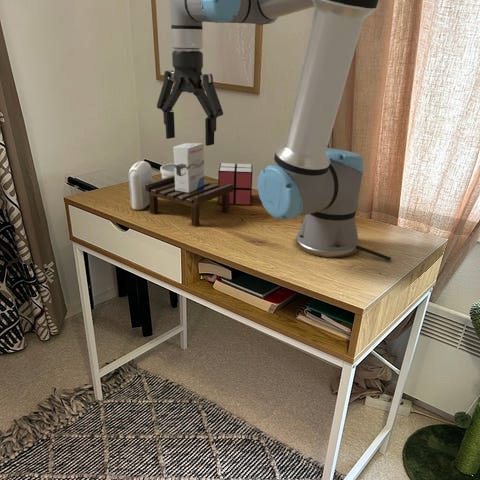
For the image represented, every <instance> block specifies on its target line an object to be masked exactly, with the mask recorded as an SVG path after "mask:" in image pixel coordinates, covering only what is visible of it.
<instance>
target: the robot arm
mask: <svg viewBox="0 0 480 480" xmlns="http://www.w3.org/2000/svg"><path fill="white" fill-rule="evenodd" d="M378 3H379V0H169V11H170V13H169V14H170V27H171V29H170V33H171V34H170V36H171V38H170V39H171V48H172V49H173V51H172V52H171V61H172V63H171V64H172V67H173V68H174V70H165V71H164V75H163V83H162V87H161V91H160V93H159V97H158V100H157V102H156V108H157V109H158V110H161V111H162V113H163V114H162V115H163V124H164V125H165V139H168V140H170V139H174V138H176V130H175V112H174V111H173V110H174V109H173V108H174V107H175V105H176V103H177V101H178V100H179V98H180V96H181V95H182V94H183V93H188V94H193V95H194V96H195V98H196V99H197V101H198V102H199V104H200V106H201V108H202V109H203V111H204V112H205V114H206V116H207V117H205V120H204V125H205V127H204V128H205V129H204V130H205V146H206V147H208V146H214V145H215V132H216V131H217V118H219V117H221V116H223V115H224V111H223V108H222V105H221V102H220V99H219V96H218V93H217V90H216V88H215V85H214V77H213V74H212V73H204V74H203V72H202V69H203V67H204V53H203V51H201V50H202V49H203V48H204V45H203V44H204V41H203V35H204V34H203V29H204V27H203V23H215V24H249V25H250V24H252V25H259V26H264V25H270V24H274V23H275V22H276V21H277V19H279V18H281V17H283V16H284V17H285V16H287V15H291V14H294V13H298V12H301V11H305V10H309V9H311V8H314V13H313V18H312V23H311V27H310V31H309V36H308V40H307V44H306V49H305V52H304V53H305V54H304V57H303V62H302V66H301V69H300V70H301V71H300V74H299V75H300V76H299V80H298V85H297V89H296V93H295V96H294V97H295V98H294V101H293V106H292V111H291V115H290V120H289V123H288V128H287V133H286V138H285V142H284V143H282V144H281V145H279V146H278V147H276V149H275V153H274V157H273V162H272V164H269V165H267V166H266V167H265V168H264V169H262V170H261V172H259V175H258V179H257V193H258V197H259V200H260V201H261V204H262V206H263V208H264V209H265V211H266V212H267V213H268V214H269V215H270V216H271V217H273V218H274V219H276V220H279V221H288V220H297V219H298V218H300V217H303V216H305V217H304V219H303V220H301V226H300V227H299V229H298V232H297V235H296V242H295V243H296V246H297V247H298V248H299V249H300V250H301V251H302V252H305V253H307V254H311V255H313V256H316V257H317V256H318V257H324V258H343V257H344V258H345V257H348V256H349V257H350V256H352V255H353V254H356V253H357V251H361V252H365V253H367V254H370V255H373V256H375V257H378V258H380V259H383V260H386V261H391V259H392V257H391V256H388V255H385V254H383V253H380V252H377V251H374V250H372V249H369V248H366V247H364V246H360V245H359V235H358V229H357V222H356V214H357V208H358V202H359V196H360V190H361V185H362V180H363V175H364V162H365V160H364V158H363V156H362V155H360V154H358V153H356V152H353V151H348V150H343V149H340V148H339V149H338V148H330V147H328V146H329V143H330V139H331V137H332V136H331V135H332V132H333V130H334V129H333V128H334V125H335V121H336V118H337V114H338V110H339V107H340V103H341V100H342V97H343V93H344V90H345V88H346V87H345V86H346V84H347V80H348V76H349V72H350V68H351V66H352V65H351V64H352V62H353V58H354V55H355V51H356V48H357V44H358V40H359V38H360V35H361V31H362V28H363V23H364V20H365V19H366V18H367V17H368V16H370V15H371V14H372V13H374V12H375V11H376V10H377V6H378Z"/></svg>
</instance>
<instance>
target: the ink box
mask: <svg viewBox="0 0 480 480" xmlns="http://www.w3.org/2000/svg"><path fill="white" fill-rule="evenodd" d="M204 148H205V144H204V143H203V142H194V141H188V142H184V143H181V144H178V145H175V146H173V163H174V172H175V190H176V191H181V192H187V193H191V192H193V191H195V190H197V189H198V188H200V187H202V186H204V182H205V149H204Z"/></svg>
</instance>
